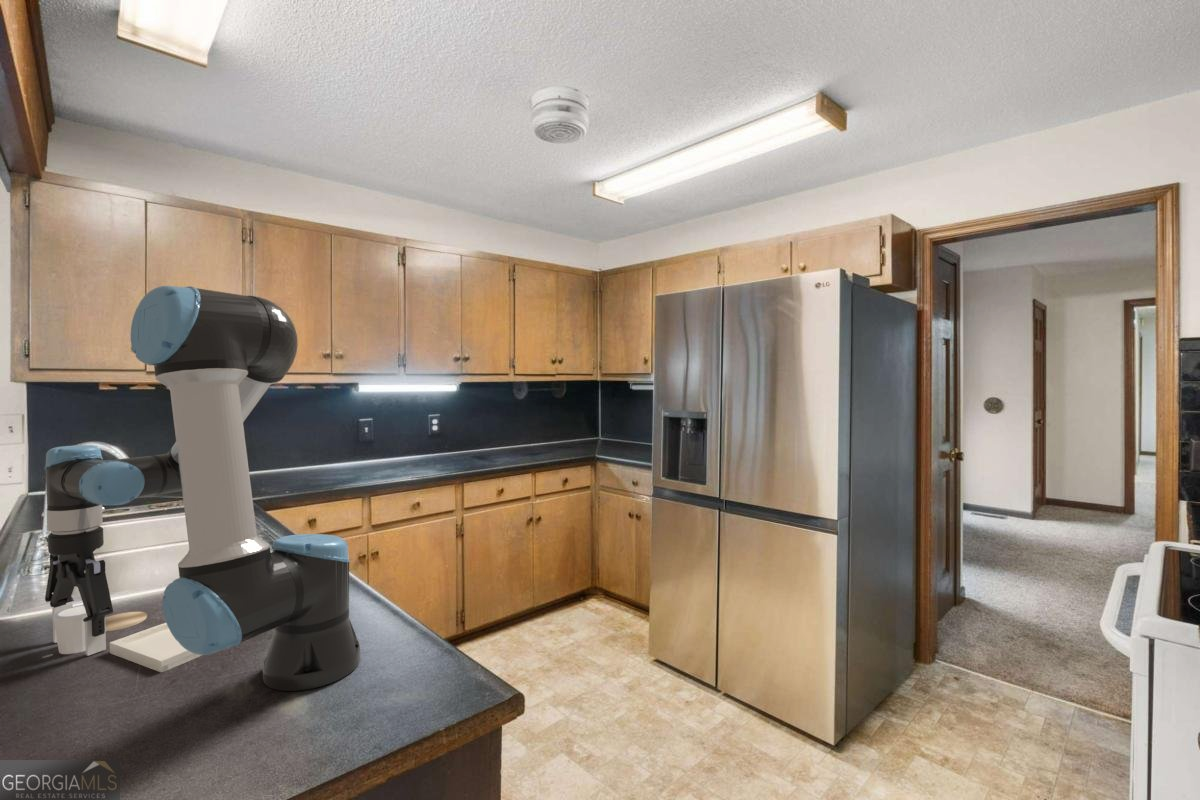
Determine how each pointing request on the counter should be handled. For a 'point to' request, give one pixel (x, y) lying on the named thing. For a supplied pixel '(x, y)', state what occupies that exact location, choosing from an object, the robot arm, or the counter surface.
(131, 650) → the tray
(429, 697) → the counter surface
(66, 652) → the white cup
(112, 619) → the cork coaster
